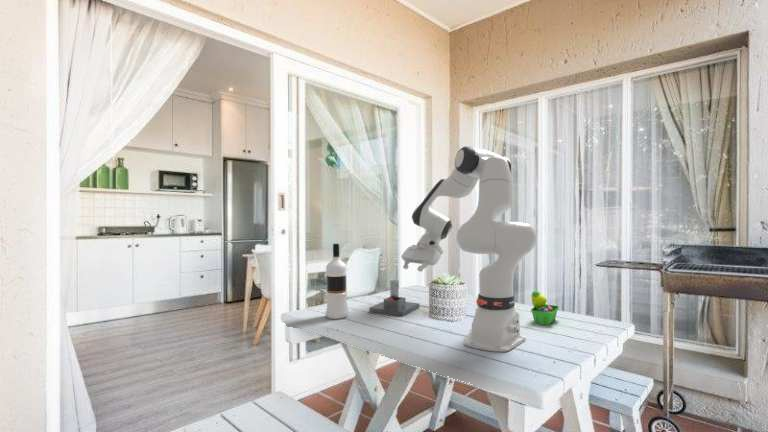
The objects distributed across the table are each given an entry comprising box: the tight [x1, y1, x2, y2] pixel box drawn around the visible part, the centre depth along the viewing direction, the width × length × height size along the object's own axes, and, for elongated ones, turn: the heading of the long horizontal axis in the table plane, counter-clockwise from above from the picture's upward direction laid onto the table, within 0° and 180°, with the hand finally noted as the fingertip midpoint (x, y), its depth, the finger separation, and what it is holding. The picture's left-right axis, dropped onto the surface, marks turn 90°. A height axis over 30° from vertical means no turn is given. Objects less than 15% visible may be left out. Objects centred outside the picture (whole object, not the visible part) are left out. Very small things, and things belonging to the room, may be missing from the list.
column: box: [389, 279, 400, 300], centre depth 176 cm, size 4×4×10 cm
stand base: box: [368, 296, 420, 317], centre depth 176 cm, size 16×16×6 cm
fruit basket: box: [530, 290, 560, 326], centre depth 156 cm, size 11×9×11 cm
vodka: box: [325, 243, 350, 320], centre depth 166 cm, size 9×9×30 cm
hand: (411, 269), depth 182 cm, fingers open, 8 cm apart
